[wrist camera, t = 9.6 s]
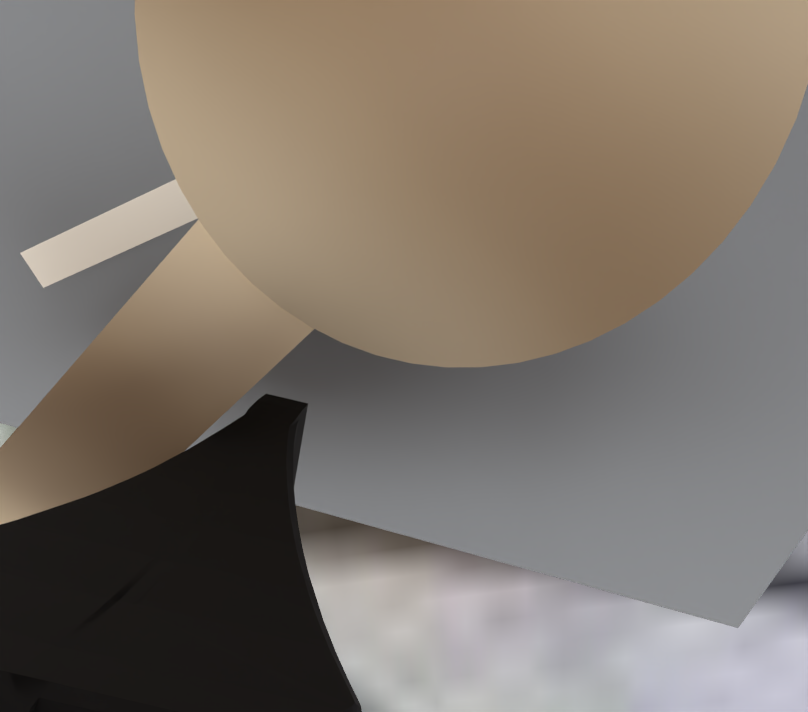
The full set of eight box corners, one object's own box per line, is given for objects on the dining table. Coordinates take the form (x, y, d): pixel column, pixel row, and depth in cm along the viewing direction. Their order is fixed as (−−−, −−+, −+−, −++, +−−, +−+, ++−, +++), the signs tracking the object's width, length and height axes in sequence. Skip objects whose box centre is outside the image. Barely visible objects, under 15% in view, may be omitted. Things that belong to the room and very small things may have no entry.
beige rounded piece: (483, -333, 8) (496, -710, 4) (769, 73, 9) (968, 71, 5) (-4, 312, 12) (-209, 413, 8) (241, 514, 14) (157, 672, 10)
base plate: (-91, -1060, 7) (-287, -1461, 5) (1465, -552, 8) (1791, -759, 6) (-23, 375, 16) (-91, 416, 14) (715, 581, 16) (748, 648, 14)
